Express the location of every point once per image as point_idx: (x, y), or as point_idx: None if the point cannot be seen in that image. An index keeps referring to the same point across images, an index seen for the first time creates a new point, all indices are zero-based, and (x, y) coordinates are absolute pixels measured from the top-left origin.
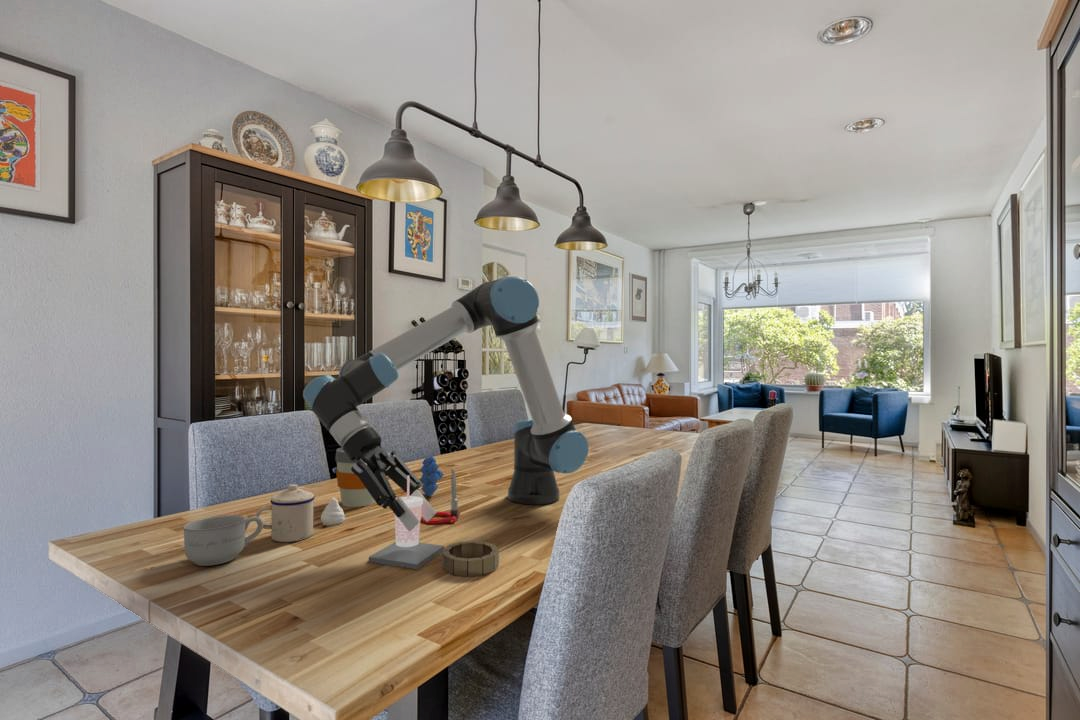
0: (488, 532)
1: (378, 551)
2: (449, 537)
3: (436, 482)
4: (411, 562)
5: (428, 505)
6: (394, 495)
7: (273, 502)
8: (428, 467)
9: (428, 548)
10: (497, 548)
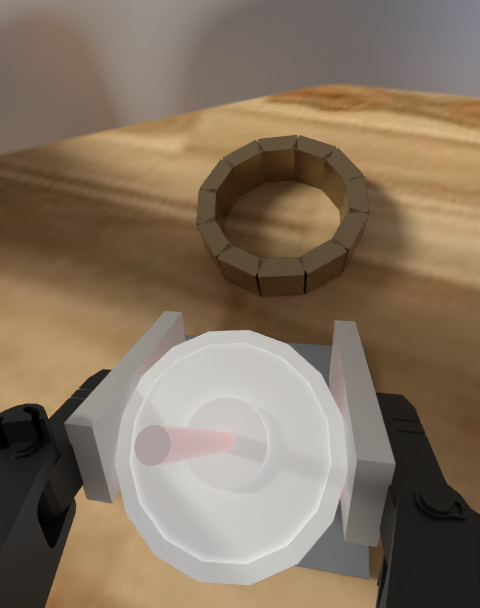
0: (19, 277)
1: (299, 564)
2: (67, 373)
3: None
4: None
5: (159, 338)
6: (430, 499)
7: None
8: None
9: None
10: (242, 147)
